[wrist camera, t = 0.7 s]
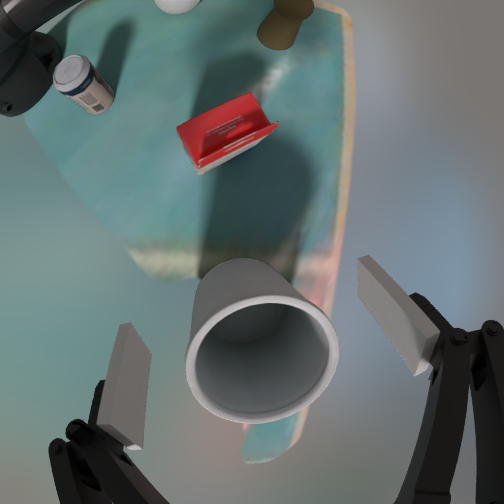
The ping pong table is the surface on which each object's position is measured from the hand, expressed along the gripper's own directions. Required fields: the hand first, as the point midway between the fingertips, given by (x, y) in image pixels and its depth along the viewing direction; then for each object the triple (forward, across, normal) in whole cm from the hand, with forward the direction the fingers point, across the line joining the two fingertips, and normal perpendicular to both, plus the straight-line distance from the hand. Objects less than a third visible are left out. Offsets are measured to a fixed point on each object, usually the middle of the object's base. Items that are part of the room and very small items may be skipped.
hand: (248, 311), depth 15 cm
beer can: (+29, -13, +18) cm, 37 cm away
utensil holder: (+21, -2, -16) cm, 26 cm away
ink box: (+27, +1, +5) cm, 28 cm away
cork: (+33, +14, +21) cm, 42 cm away
